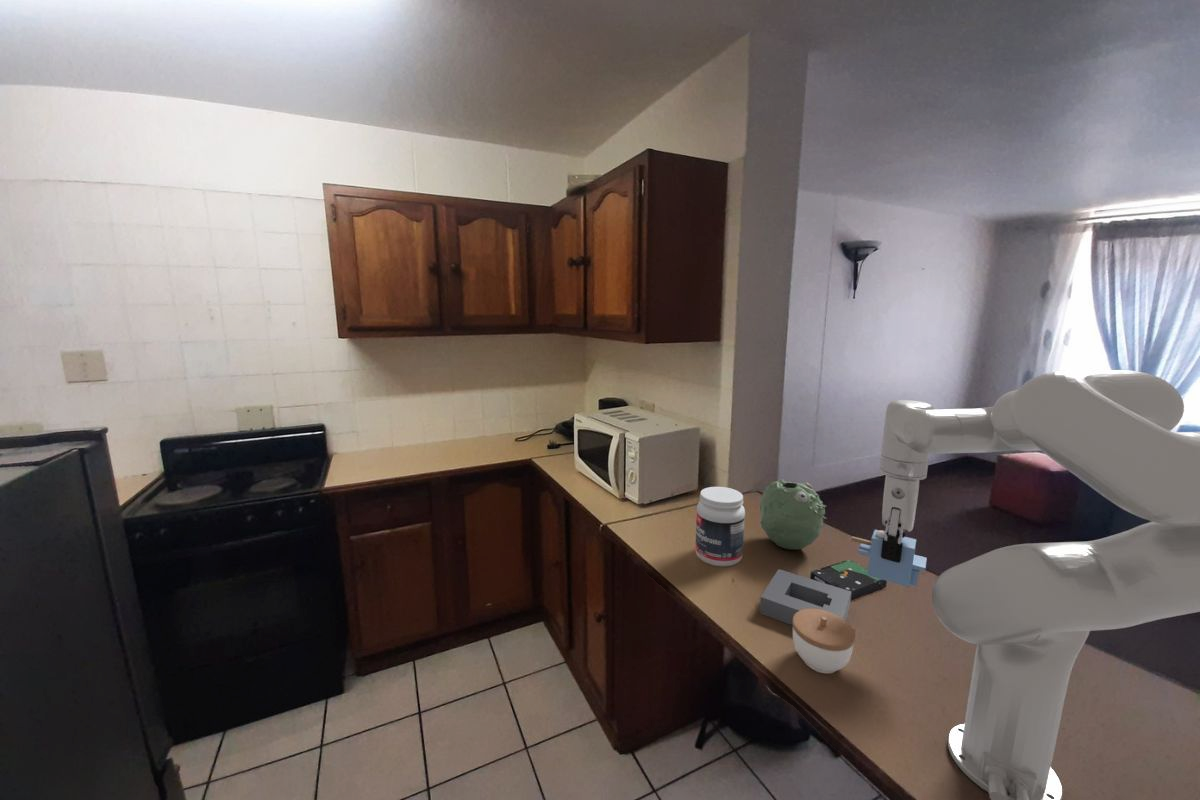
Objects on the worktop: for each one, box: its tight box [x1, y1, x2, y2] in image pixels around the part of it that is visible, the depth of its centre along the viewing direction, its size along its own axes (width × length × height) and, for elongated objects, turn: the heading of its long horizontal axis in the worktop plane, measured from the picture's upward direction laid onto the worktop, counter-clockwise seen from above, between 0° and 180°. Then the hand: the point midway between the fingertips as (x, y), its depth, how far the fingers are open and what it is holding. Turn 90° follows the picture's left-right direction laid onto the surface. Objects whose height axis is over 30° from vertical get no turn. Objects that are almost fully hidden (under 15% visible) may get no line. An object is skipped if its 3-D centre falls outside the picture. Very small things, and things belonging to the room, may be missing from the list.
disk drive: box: [809, 559, 888, 600], centre depth 114 cm, size 10×3×15 cm
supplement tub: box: [694, 486, 746, 567], centre depth 125 cm, size 13×13×18 cm
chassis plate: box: [759, 569, 852, 626], centre depth 103 cm, size 14×16×4 cm
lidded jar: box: [792, 609, 856, 675], centre depth 87 cm, size 11×11×9 cm
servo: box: [851, 529, 927, 588], centre depth 90 cm, size 13×4×9 cm, turn 52°
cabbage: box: [759, 478, 828, 550], centre depth 130 cm, size 16×19×20 cm
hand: (892, 553), depth 90 cm, fingers closed on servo, 4 cm apart
